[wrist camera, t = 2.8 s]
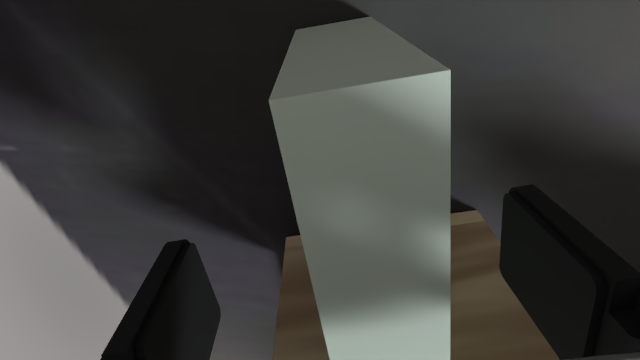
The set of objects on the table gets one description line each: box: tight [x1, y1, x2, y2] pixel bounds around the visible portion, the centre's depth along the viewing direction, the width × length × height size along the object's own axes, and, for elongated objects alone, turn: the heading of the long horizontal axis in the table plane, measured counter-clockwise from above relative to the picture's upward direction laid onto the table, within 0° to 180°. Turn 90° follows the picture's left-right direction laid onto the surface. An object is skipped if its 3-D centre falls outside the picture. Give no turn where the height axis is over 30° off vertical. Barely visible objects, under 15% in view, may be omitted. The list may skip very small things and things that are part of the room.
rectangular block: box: [269, 17, 451, 360], centre depth 13 cm, size 10×4×10 cm, turn 9°
